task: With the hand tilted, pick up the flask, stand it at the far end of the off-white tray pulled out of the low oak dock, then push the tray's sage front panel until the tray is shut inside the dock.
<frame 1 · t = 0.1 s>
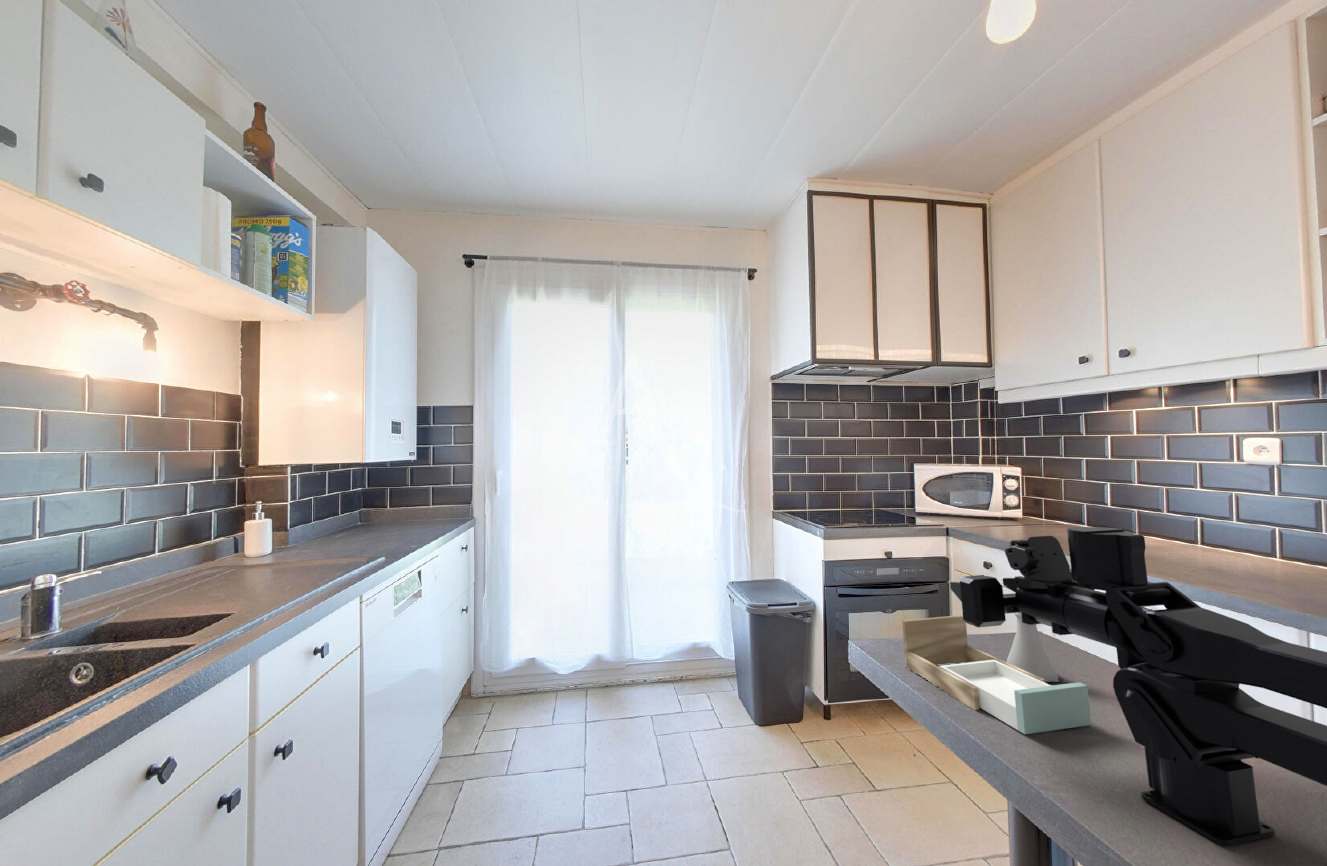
hand: (977, 583, 72), 17 cm above the countertop, tool horizontal, fingers open, 9 cm apart
tray: (1007, 684, 68), point 3 cm above the countertop, slide at 6.0 cm
flask: (1031, 675, 77), on the countertop
dock: (972, 684, 74), on the countertop
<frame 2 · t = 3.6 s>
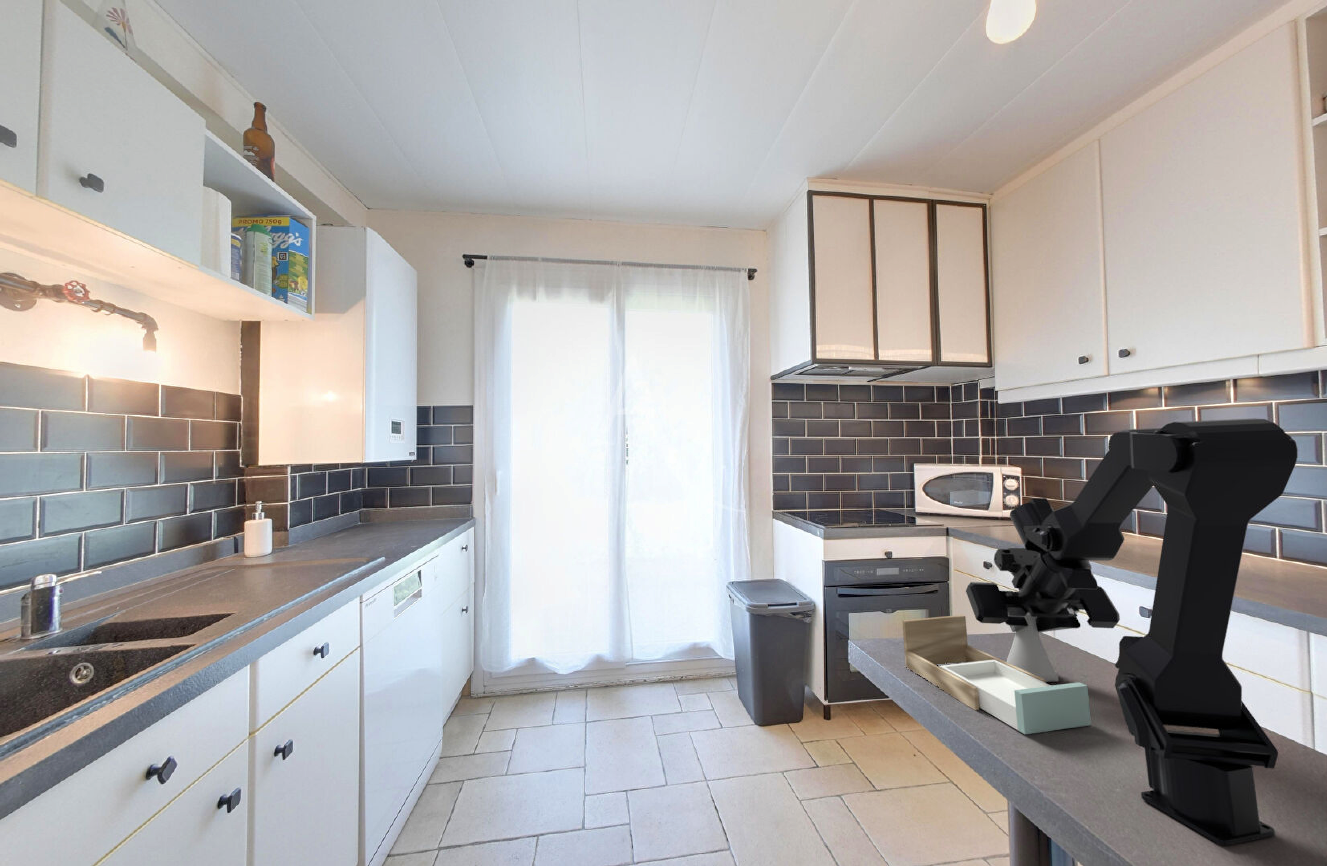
hand: (1022, 629, 79), 7 cm above the countertop, tool tilted 45°, fingers closed on flask, 3 cm apart
flask: (1031, 675, 77), on the countertop, touching gripper
everything else where it was.
when the fingers open (9 cm above the countertop, at t = 7.0 s): flask drops 1 cm, resting on tray.
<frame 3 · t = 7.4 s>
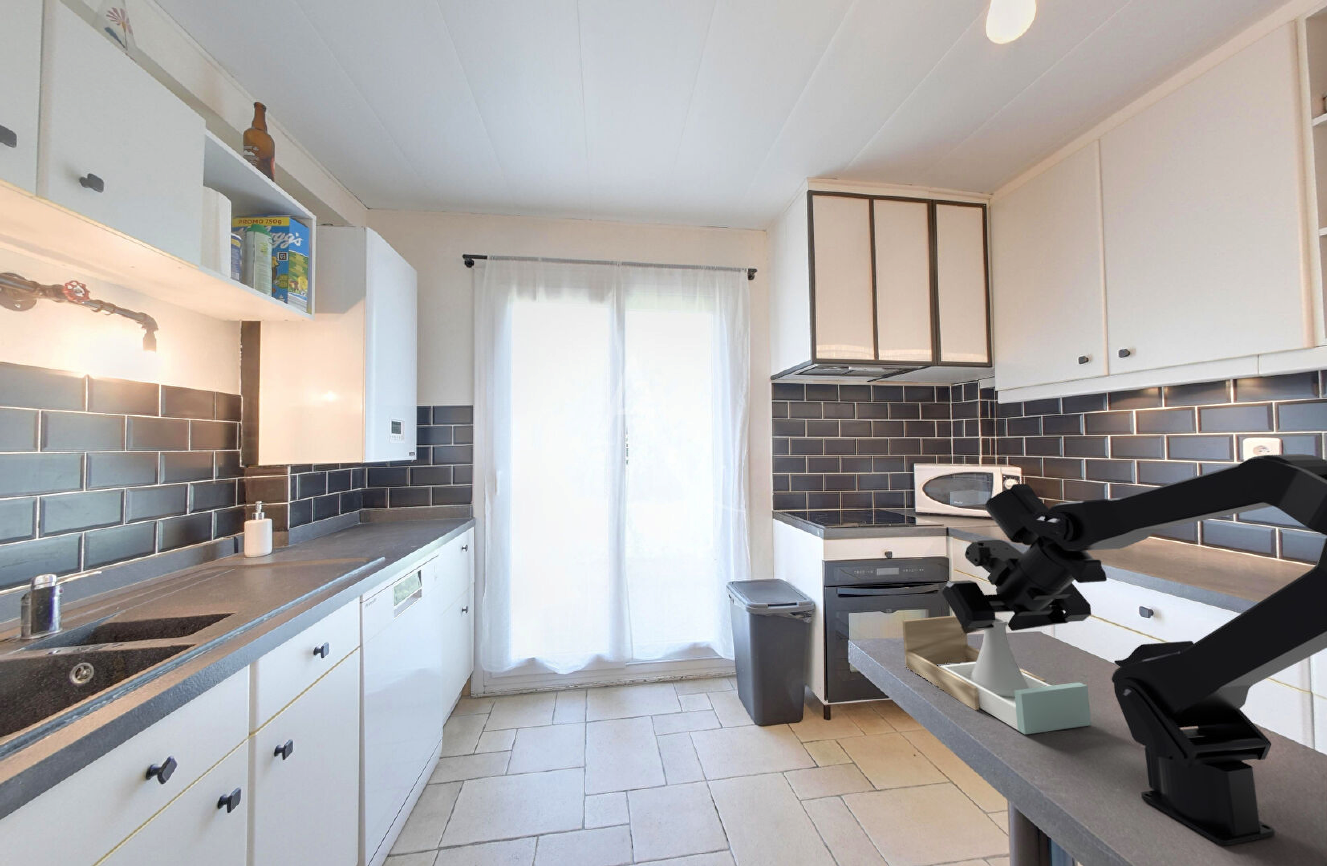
hand: (987, 629, 73), 9 cm above the countertop, tool tilted 45°, fingers open, 7 cm apart
tray: (1007, 684, 68), point 3 cm above the countertop, slide at 6.0 cm, touching flask
flask: (1000, 689, 70), point 1 cm above the countertop, touching tray
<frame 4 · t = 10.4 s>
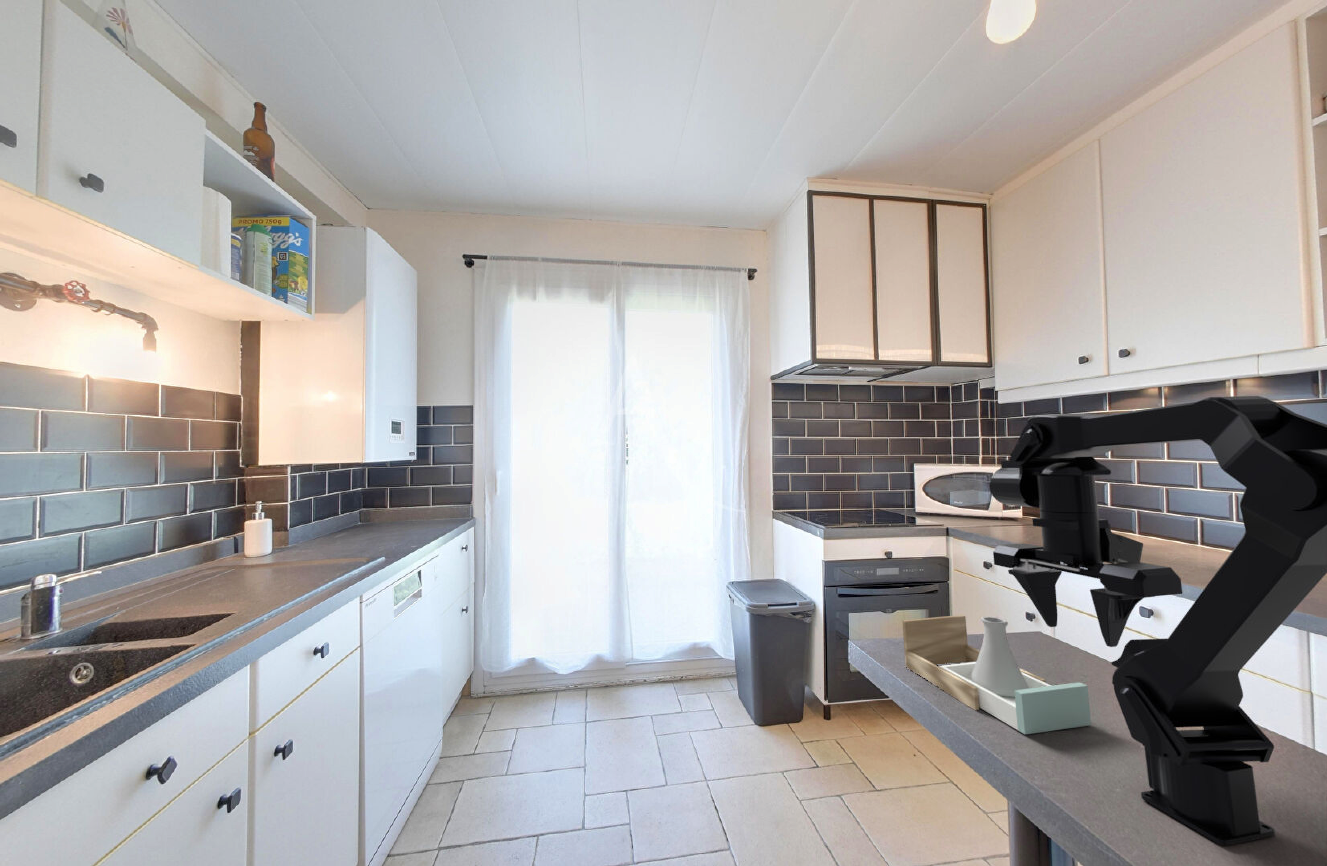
hand: (1080, 635, 59), 13 cm above the countertop, tool pointing down, fingers open, 7 cm apart
nothing on the countertop moved.
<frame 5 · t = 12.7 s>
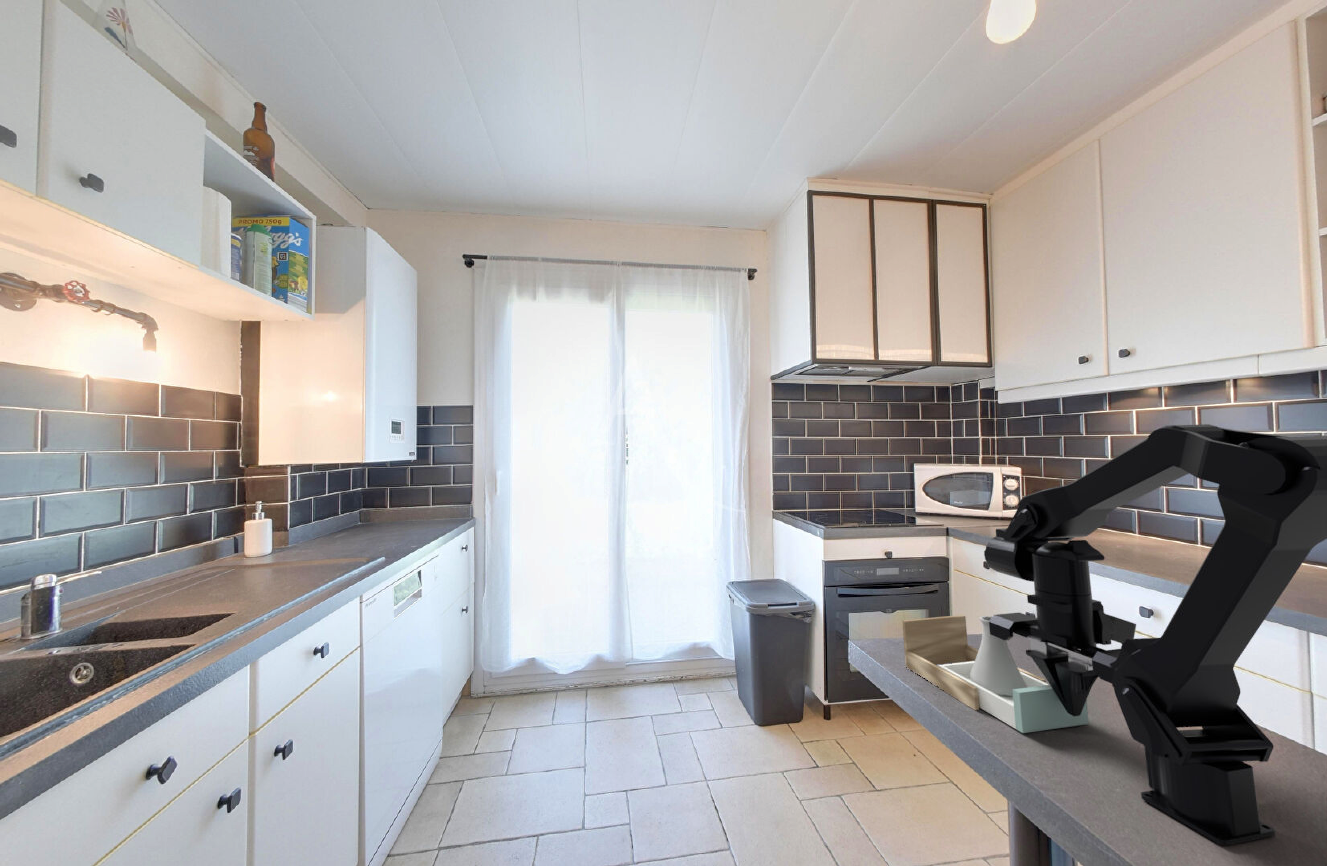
hand: (1074, 714, 60), 3 cm above the countertop, tool pointing down, fingers closed
tray: (1005, 683, 68), point 3 cm above the countertop, slide at 5.7 cm, touching gripper, flask
everything else where it was.
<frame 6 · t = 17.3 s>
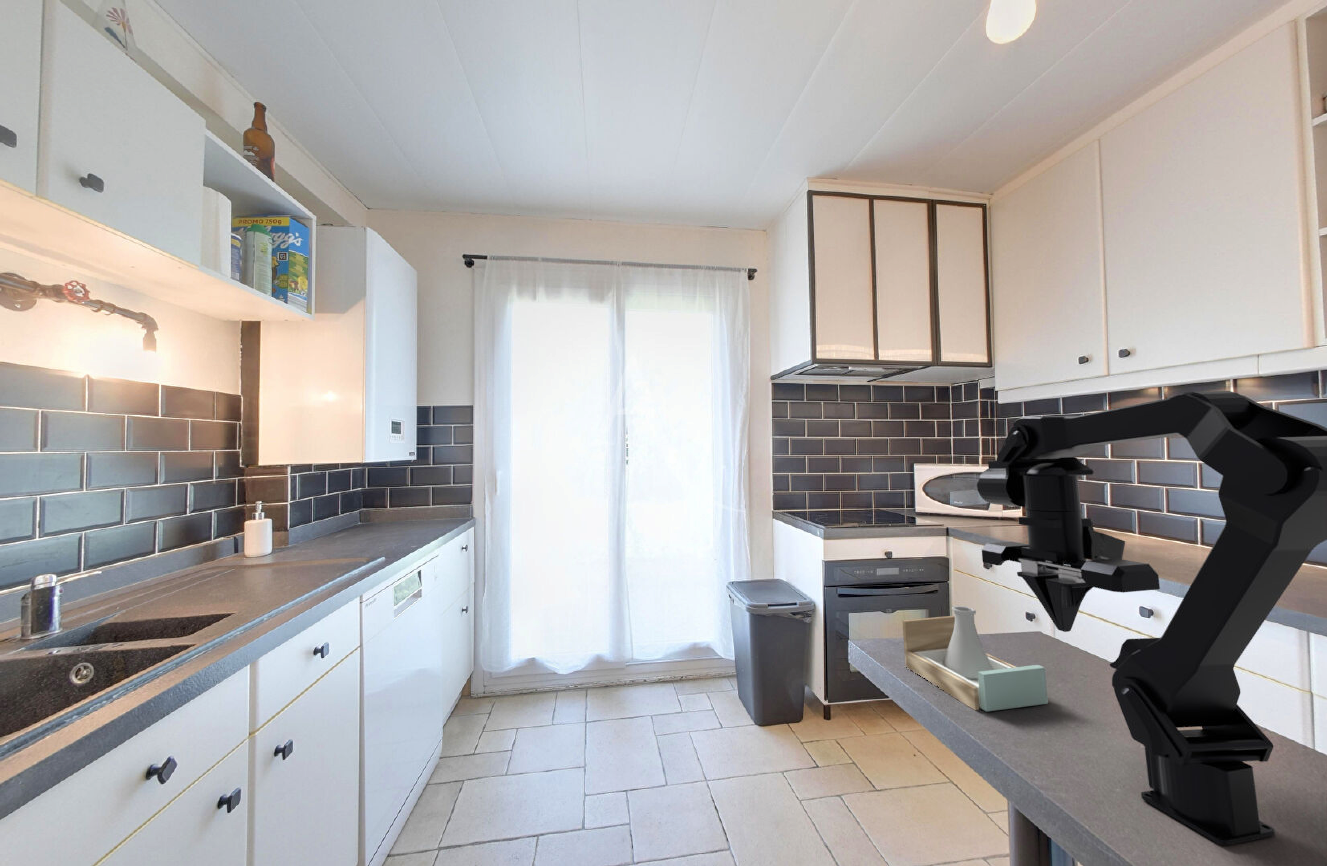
hand: (1064, 630, 61), 13 cm above the countertop, tool pointing down, fingers closed
tray: (974, 668, 74), point 3 cm above the countertop, slide at 0.2 cm, touching flask
flask: (968, 672, 76), point 1 cm above the countertop, touching tray
at the end: tray slide at 0.2 cm; flask inside the target area on the dock (0.9 cm from its centre), point 1.0 cm above the dock's base; flask tilted 0° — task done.
